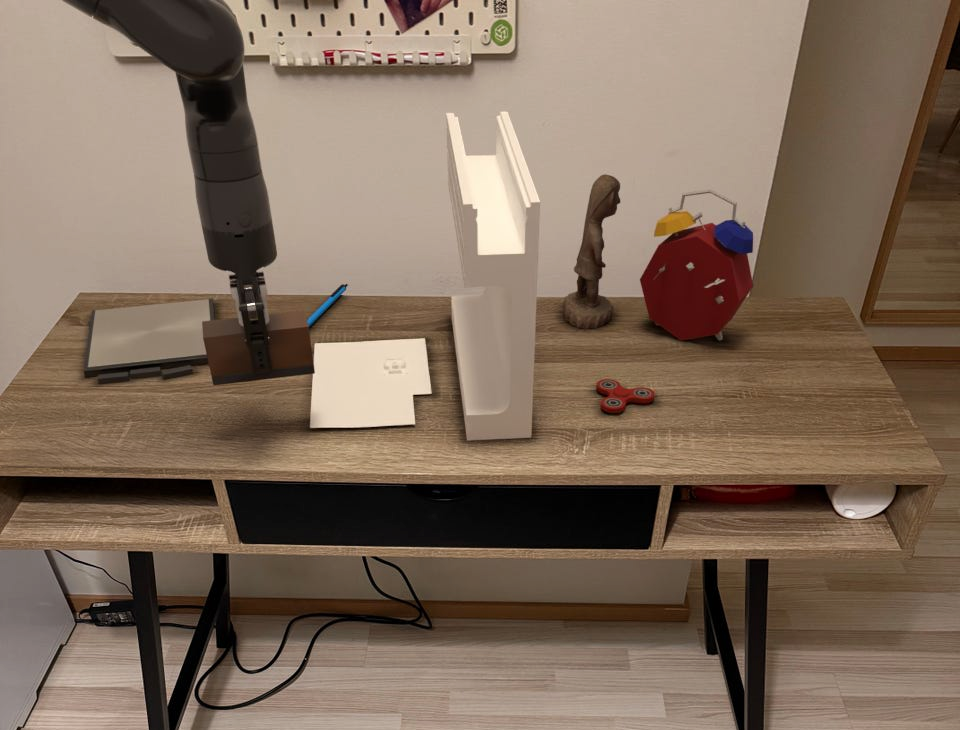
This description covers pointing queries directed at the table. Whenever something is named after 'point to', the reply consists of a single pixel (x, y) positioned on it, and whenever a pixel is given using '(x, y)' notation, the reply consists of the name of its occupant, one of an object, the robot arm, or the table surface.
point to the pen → (327, 304)
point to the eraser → (234, 356)
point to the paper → (368, 382)
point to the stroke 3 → (177, 372)
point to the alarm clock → (697, 273)
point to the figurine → (592, 259)
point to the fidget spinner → (621, 395)
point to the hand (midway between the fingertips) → (261, 363)
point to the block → (495, 282)
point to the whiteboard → (147, 337)
